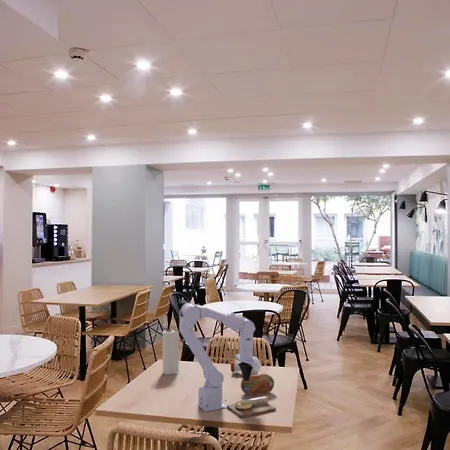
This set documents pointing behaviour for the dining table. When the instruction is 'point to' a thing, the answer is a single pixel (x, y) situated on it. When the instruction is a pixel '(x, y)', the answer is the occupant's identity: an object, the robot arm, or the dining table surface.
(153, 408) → the dining table surface
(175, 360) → the paper towel roll
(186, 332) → the robot arm
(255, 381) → the tin
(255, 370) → the potion bottle
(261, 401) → the switch lever
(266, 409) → the lever switch plate
